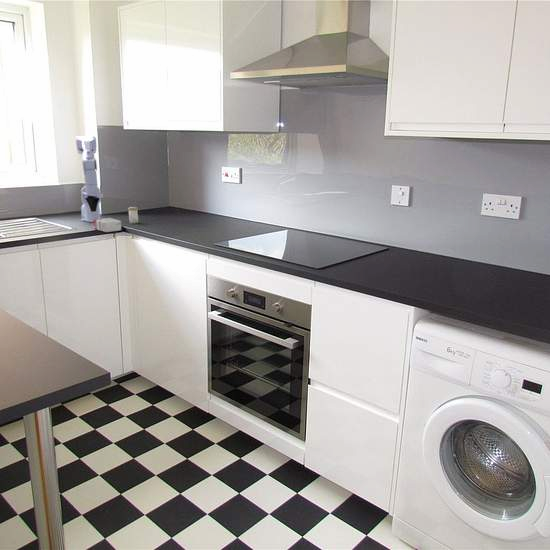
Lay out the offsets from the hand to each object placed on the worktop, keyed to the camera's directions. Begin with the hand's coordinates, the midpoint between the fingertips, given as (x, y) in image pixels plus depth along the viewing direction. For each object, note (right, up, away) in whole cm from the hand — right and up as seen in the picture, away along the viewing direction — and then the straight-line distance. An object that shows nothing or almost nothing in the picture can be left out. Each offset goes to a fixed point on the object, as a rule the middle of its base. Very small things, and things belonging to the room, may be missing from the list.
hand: (93, 211), depth 265 cm
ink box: (+5, -6, -2) cm, 8 cm away
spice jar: (+16, -4, +15) cm, 22 cm away
